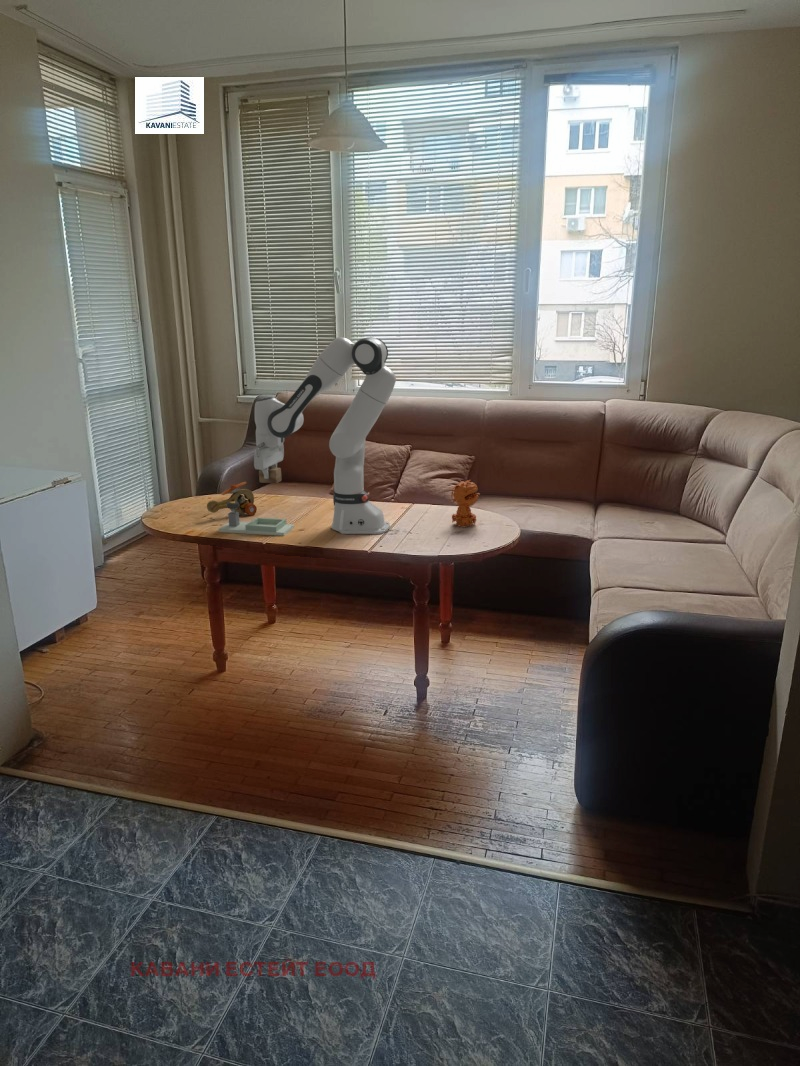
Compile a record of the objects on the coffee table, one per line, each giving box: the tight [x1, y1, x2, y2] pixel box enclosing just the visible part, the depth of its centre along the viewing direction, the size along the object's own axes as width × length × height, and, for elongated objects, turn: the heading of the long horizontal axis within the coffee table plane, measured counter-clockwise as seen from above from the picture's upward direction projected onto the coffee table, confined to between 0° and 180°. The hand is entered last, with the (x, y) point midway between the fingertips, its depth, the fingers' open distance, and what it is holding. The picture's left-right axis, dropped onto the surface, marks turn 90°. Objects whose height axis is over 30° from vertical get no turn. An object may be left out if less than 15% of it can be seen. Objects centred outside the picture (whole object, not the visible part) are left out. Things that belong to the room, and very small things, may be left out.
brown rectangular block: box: [258, 466, 282, 484], centre depth 274 cm, size 7×5×5 cm
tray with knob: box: [218, 511, 295, 537], centre depth 271 cm, size 26×11×6 cm, turn 79°
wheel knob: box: [226, 502, 239, 513], centre depth 272 cm, size 4×4×5 cm
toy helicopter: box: [206, 481, 257, 516], centre depth 288 cm, size 8×21×14 cm, turn 133°
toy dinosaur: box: [450, 479, 481, 527], centre depth 275 cm, size 11×11×18 cm
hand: (270, 476), depth 274 cm, fingers closed on brown rectangular block, 5 cm apart
